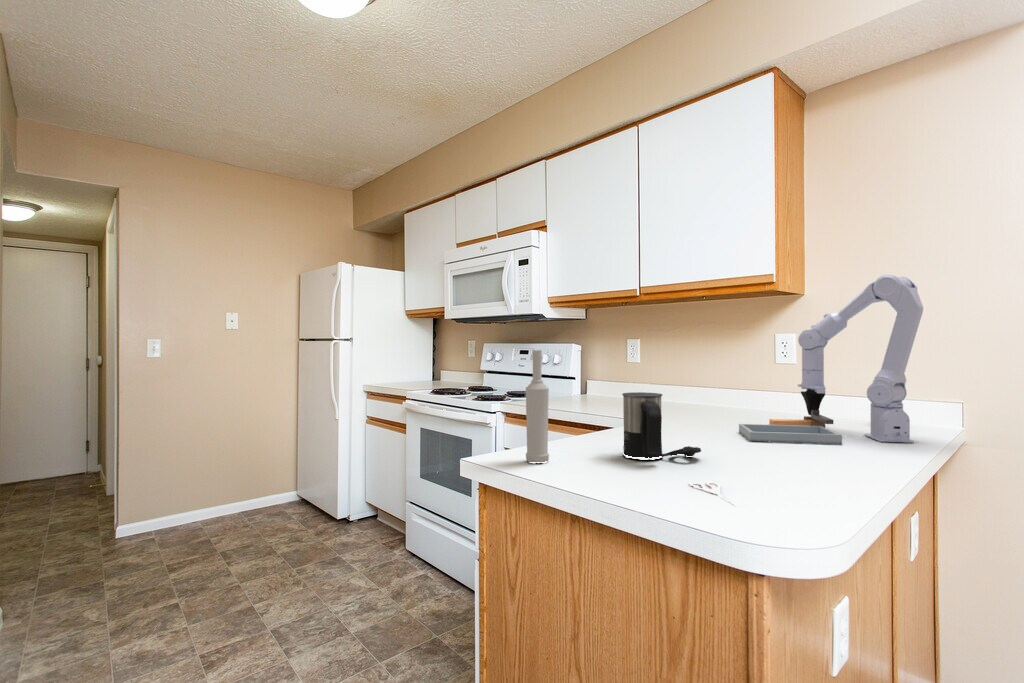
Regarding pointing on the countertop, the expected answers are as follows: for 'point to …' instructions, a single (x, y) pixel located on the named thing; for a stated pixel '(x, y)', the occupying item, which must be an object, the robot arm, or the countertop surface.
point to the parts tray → (789, 433)
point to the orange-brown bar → (790, 422)
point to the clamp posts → (814, 421)
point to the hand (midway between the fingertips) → (812, 415)
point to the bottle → (537, 414)
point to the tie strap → (820, 417)
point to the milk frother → (645, 426)
